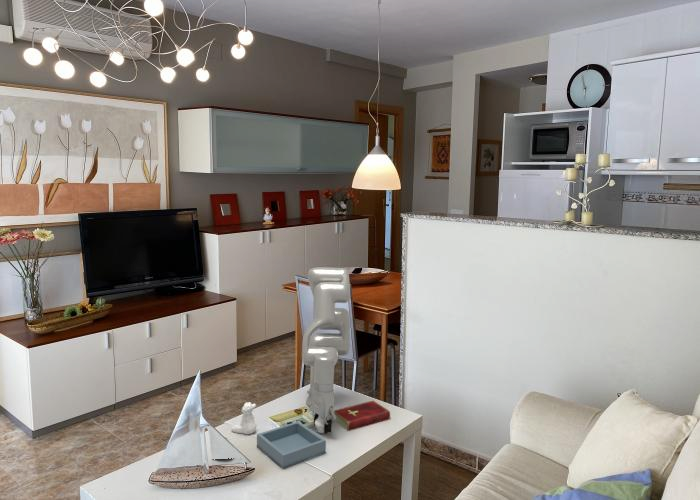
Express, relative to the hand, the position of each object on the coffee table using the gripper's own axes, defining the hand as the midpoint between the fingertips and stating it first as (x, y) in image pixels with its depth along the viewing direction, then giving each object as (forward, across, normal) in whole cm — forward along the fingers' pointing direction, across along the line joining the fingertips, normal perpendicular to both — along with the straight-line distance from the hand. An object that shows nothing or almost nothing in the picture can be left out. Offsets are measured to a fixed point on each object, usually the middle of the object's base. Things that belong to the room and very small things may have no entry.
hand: (322, 428), depth 209 cm
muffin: (+1, 0, 0) cm, 1 cm away
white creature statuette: (+2, -18, -23) cm, 29 cm away
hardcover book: (+2, 0, +20) cm, 20 cm away
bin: (+1, +4, -17) cm, 18 cm away
